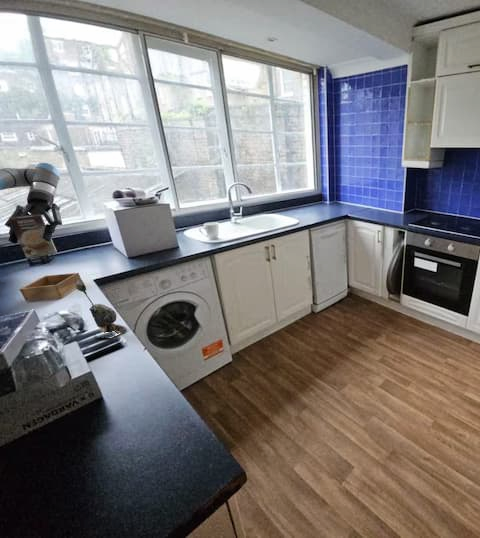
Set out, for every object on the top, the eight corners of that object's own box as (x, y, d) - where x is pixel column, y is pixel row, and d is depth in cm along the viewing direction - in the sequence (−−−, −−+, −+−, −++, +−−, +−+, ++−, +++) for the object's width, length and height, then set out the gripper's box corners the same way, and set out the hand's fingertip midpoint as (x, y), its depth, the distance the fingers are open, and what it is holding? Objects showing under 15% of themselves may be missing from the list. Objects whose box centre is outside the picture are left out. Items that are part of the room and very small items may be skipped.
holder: (48, 258, 167) (35, 224, 159) (60, 259, 166) (47, 225, 158) (26, 265, 157) (10, 229, 149) (38, 267, 156) (23, 231, 148)
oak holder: (26, 302, 118) (19, 289, 116) (50, 287, 131) (45, 275, 128) (62, 298, 121) (56, 285, 118) (83, 284, 133) (78, 272, 131)
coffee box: (26, 259, 118) (6, 219, 112) (27, 255, 122) (8, 217, 116) (57, 253, 124) (40, 215, 117) (57, 249, 128) (40, 213, 122)
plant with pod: (98, 347, 89) (72, 289, 82) (93, 333, 97) (68, 278, 89) (130, 335, 95) (108, 279, 87) (123, 322, 102) (102, 270, 94)
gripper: (79, 199, 131) (70, 242, 123) (17, 202, 127) (3, 247, 119) (66, 188, 125) (56, 233, 117) (0, 191, 120) (-16, 238, 112)
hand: (29, 240), depth 118 cm, fingers closed on coffee box, 11 cm apart
